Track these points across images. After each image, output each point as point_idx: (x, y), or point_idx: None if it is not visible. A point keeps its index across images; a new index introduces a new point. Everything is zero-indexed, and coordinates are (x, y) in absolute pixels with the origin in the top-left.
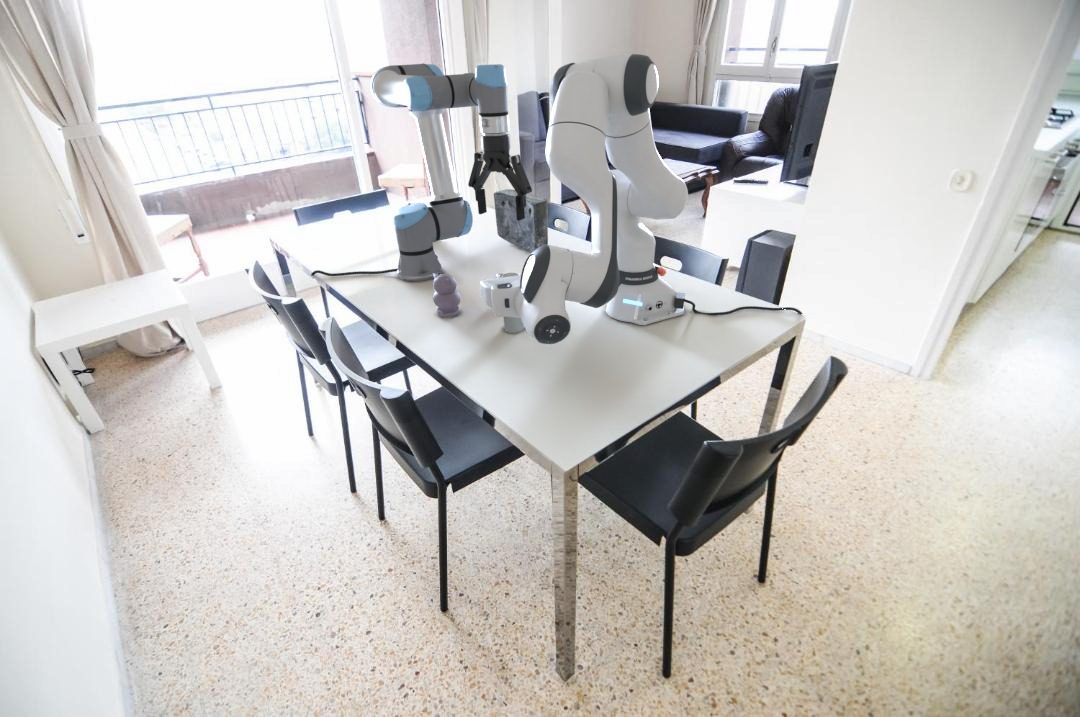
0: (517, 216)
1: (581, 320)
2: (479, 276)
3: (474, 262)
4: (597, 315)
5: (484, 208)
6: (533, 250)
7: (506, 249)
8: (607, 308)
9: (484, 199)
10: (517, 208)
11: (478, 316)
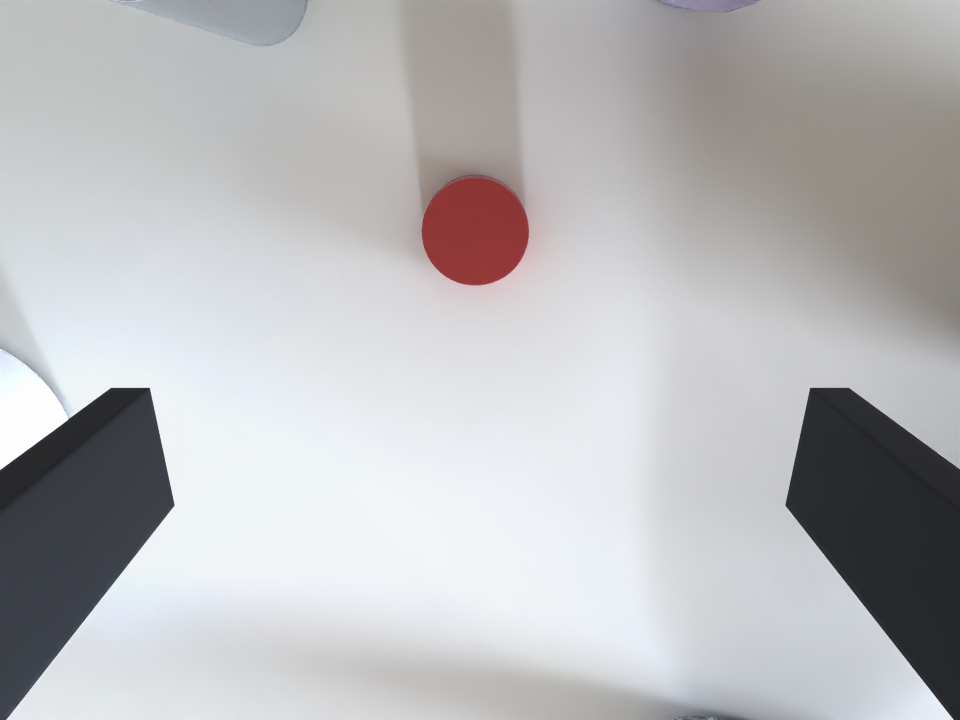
0: (100, 412)
1: (64, 251)
2: (803, 410)
3: None
4: (46, 330)
5: (824, 505)
6: (693, 716)
7: (849, 701)
8: (13, 378)
9: (900, 617)
10: (5, 478)
11: (514, 6)
